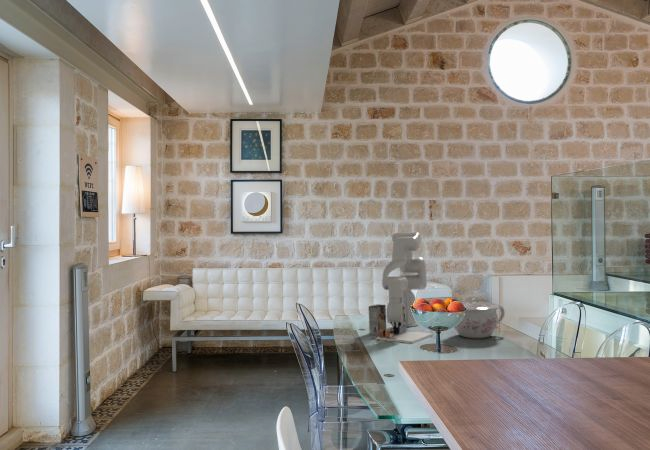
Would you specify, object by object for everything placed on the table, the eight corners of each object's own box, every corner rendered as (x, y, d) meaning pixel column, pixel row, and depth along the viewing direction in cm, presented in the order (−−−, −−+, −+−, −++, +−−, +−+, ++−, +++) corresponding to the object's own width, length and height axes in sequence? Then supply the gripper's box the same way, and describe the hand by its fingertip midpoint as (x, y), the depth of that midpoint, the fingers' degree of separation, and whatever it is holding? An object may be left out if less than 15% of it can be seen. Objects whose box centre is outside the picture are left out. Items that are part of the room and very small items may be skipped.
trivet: (398, 332, 318) (398, 329, 318) (432, 335, 304) (432, 333, 304) (376, 339, 299) (376, 337, 299) (412, 343, 285) (411, 341, 285)
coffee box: (377, 331, 322) (376, 304, 323) (386, 332, 319) (386, 304, 319) (369, 333, 315) (368, 306, 315) (378, 334, 311) (377, 306, 311)
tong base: (399, 330, 315) (399, 321, 315) (407, 331, 312) (407, 322, 312) (379, 337, 298) (378, 328, 298) (387, 338, 294) (387, 328, 294)
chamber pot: (443, 339, 294) (442, 301, 294) (456, 330, 318) (455, 294, 318) (497, 343, 281) (496, 303, 281) (506, 333, 305) (505, 296, 305)
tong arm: (401, 331, 311) (401, 324, 311) (405, 332, 309) (405, 325, 309) (385, 337, 295) (385, 330, 295) (389, 338, 294) (389, 330, 294)
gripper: (411, 300, 296) (412, 334, 295) (387, 299, 305) (388, 332, 304) (404, 301, 290) (405, 336, 289) (380, 300, 299) (381, 334, 298)
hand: (396, 334), depth 297 cm, fingers closed
